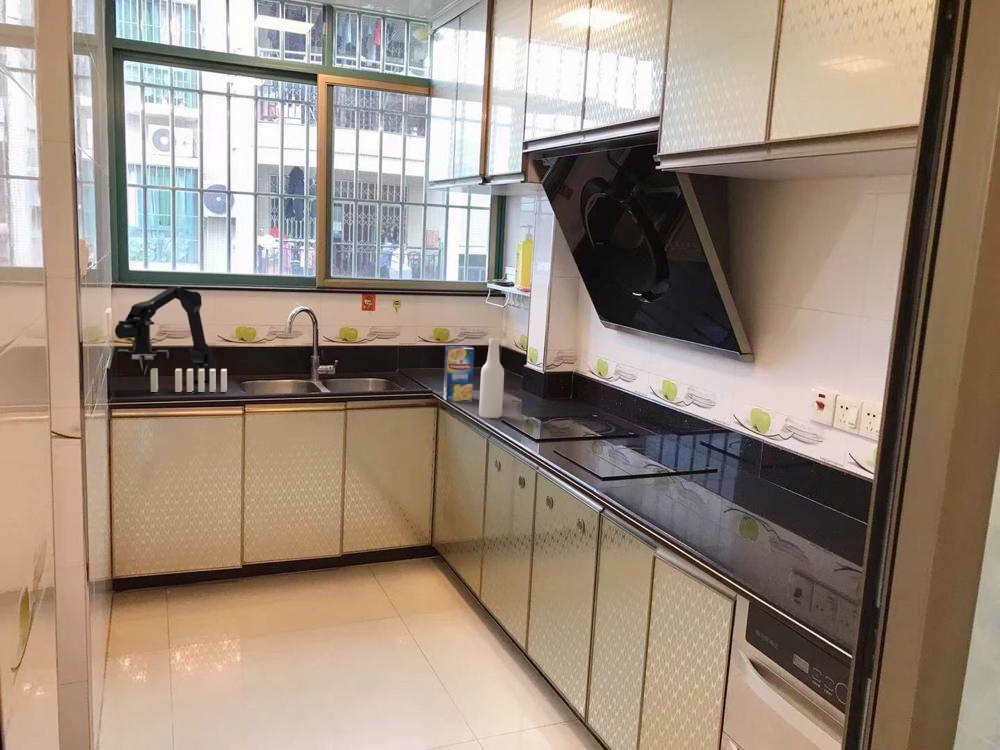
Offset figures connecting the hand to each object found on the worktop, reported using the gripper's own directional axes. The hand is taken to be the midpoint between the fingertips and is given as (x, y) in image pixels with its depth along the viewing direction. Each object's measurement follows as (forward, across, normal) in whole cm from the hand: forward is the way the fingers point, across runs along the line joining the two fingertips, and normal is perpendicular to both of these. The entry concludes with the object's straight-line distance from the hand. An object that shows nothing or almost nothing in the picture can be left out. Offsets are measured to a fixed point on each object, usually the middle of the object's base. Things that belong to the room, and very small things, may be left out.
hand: (143, 375), depth 321 cm
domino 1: (+6, -4, 0) cm, 8 cm away
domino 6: (+6, -30, 0) cm, 31 cm away
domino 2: (+6, -13, 0) cm, 15 cm away
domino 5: (+6, -26, 0) cm, 27 cm away
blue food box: (+7, -124, +17) cm, 125 cm away
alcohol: (+7, -130, +49) cm, 139 cm away
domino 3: (+6, -17, 0) cm, 19 cm away
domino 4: (+6, -22, 0) cm, 23 cm away
